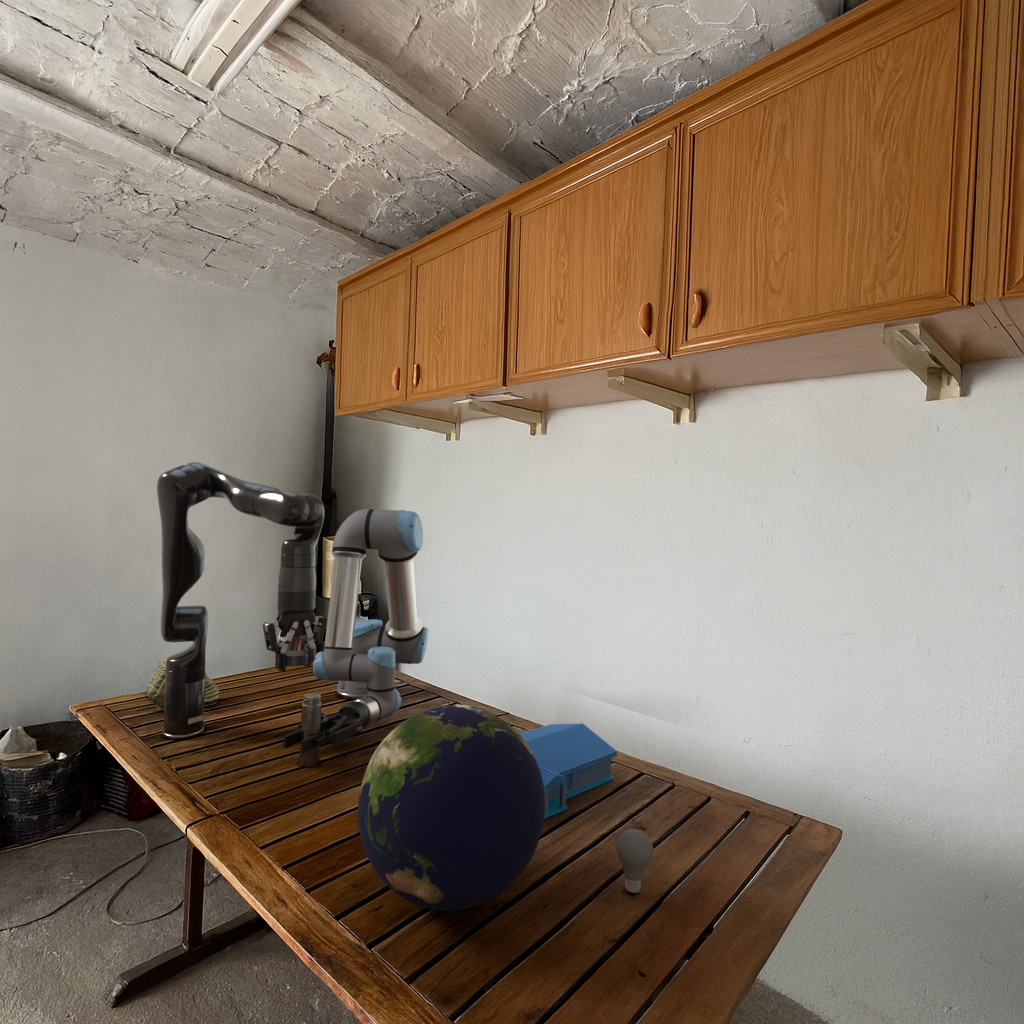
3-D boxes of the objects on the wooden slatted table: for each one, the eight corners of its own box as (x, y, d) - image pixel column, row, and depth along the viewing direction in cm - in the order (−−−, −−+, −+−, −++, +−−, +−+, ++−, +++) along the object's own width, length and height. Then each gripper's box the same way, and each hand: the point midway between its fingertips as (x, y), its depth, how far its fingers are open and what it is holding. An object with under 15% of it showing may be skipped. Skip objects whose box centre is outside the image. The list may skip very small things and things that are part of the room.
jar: (303, 768, 147) (307, 699, 147) (295, 762, 150) (299, 694, 150) (321, 764, 150) (325, 696, 150) (313, 757, 153) (317, 691, 153)
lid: (289, 659, 136) (289, 649, 136) (312, 661, 135) (313, 651, 135) (275, 665, 131) (275, 655, 131) (300, 667, 130) (300, 657, 130)
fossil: (144, 707, 182) (145, 655, 182) (212, 696, 194) (213, 647, 194) (151, 716, 175) (153, 662, 175) (221, 703, 188) (223, 653, 188)
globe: (313, 921, 95) (320, 722, 94) (416, 828, 122) (422, 674, 122) (496, 988, 83) (506, 762, 83) (564, 869, 111) (572, 699, 110)
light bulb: (610, 879, 108) (613, 822, 108) (644, 879, 109) (647, 822, 109) (619, 902, 102) (622, 840, 102) (655, 901, 103) (658, 840, 103)
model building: (497, 839, 120) (500, 786, 120) (424, 791, 138) (425, 745, 138) (625, 783, 146) (627, 740, 146) (549, 749, 164) (551, 711, 164)
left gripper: (274, 592, 125) (271, 678, 125) (336, 587, 136) (334, 666, 136) (255, 588, 130) (252, 671, 130) (316, 583, 141) (314, 659, 141)
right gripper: (385, 735, 163) (322, 769, 142) (330, 723, 170) (264, 753, 149) (386, 706, 163) (324, 735, 141) (332, 695, 170) (265, 721, 149)
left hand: (294, 668), depth 133 cm, fingers closed on lid, 5 cm apart
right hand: (293, 744), depth 145 cm, fingers closed on jar, 4 cm apart
